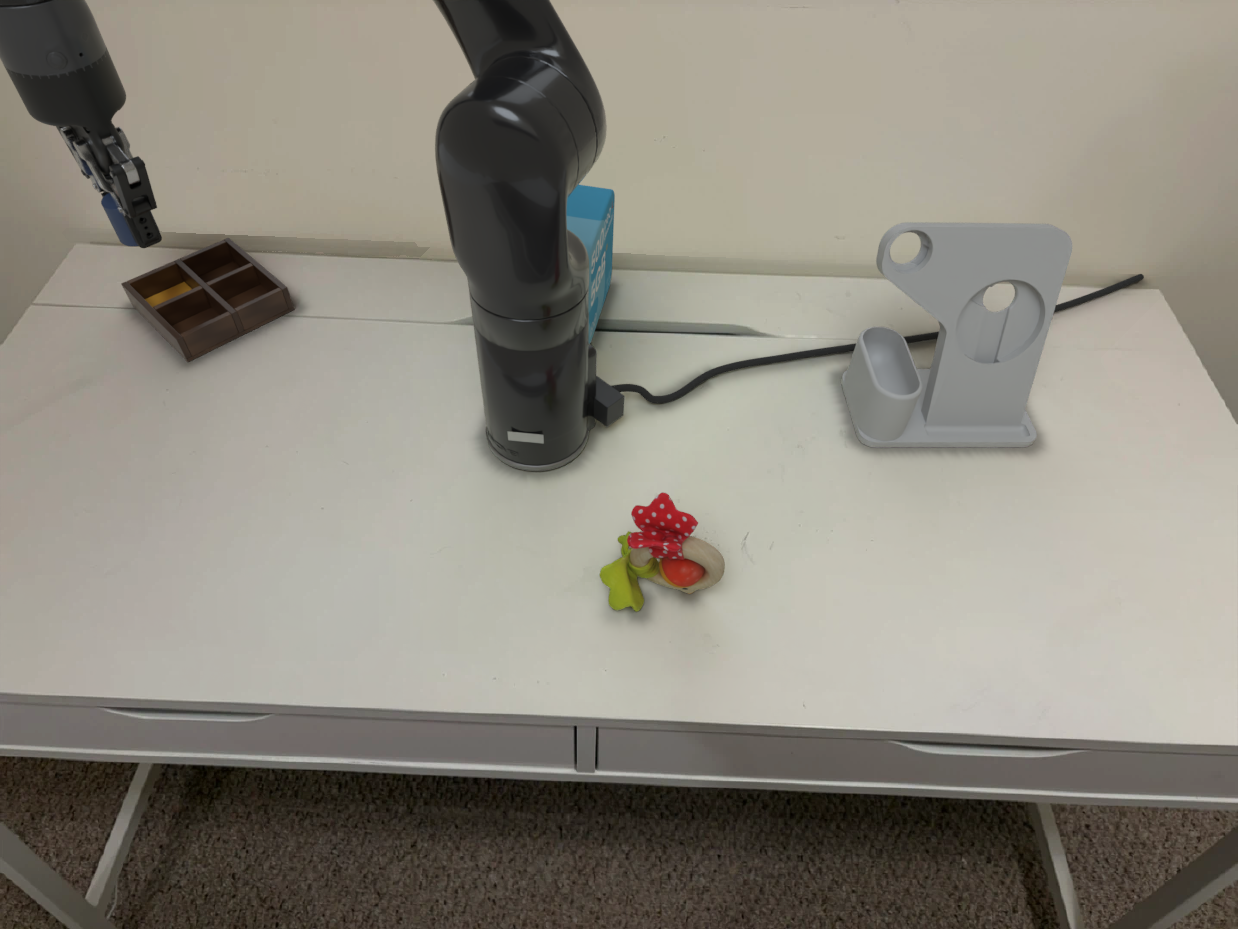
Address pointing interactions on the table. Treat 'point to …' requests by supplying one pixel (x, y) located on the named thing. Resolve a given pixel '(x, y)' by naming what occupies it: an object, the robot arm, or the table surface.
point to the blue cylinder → (118, 221)
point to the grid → (208, 298)
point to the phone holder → (960, 338)
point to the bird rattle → (661, 555)
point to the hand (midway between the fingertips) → (139, 233)
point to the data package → (594, 241)
